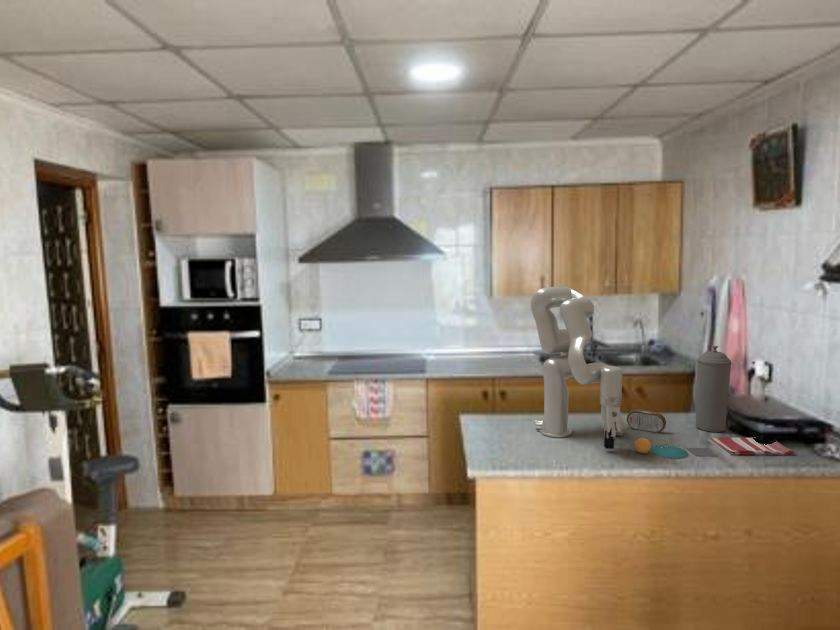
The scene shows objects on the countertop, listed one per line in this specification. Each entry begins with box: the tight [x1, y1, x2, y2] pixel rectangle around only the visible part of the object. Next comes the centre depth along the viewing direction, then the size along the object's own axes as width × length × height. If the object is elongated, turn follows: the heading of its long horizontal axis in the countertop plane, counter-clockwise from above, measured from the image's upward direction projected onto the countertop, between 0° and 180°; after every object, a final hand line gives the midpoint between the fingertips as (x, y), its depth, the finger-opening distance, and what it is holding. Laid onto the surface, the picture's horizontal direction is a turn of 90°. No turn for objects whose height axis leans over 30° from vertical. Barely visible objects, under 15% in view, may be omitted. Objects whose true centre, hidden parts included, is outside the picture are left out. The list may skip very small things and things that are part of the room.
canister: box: [695, 345, 733, 433], centre depth 229 cm, size 13×13×35 cm
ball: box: [634, 437, 652, 454], centre depth 205 cm, size 6×6×6 cm
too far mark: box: [686, 447, 719, 457], centre depth 205 cm, size 8×8×1 cm
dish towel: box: [708, 436, 795, 457], centre depth 209 cm, size 17×23×3 cm
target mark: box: [649, 444, 689, 460], centre depth 206 cm, size 13×13×1 cm
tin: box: [626, 408, 667, 434], centre depth 229 cm, size 15×3×8 cm, turn 58°
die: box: [615, 416, 628, 437], centre depth 225 cm, size 8×9×10 cm
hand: (609, 447), depth 207 cm, fingers closed
